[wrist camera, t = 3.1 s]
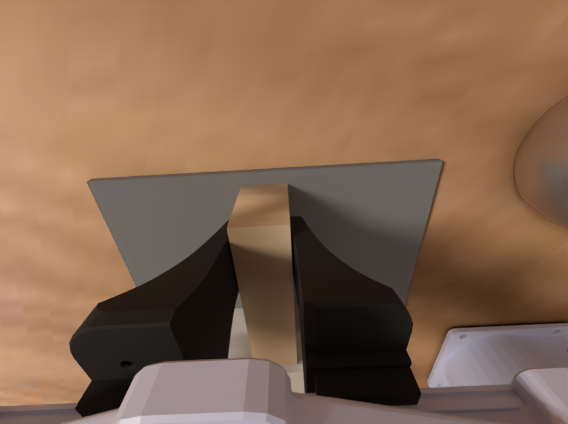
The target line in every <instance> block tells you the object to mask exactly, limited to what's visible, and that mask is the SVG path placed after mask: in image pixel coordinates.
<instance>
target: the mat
mask: <svg viewBox="0 0 568 424" xmlns="http://www.w3.org/2000/svg"><path fill="white" fill-rule="evenodd" d="M442 163H443V161H441V160H440V159H428V160H411V161H393V162H376V163H359V164H341V165H324V166H307V167H289V168H272V169H255V170H237V171H220V172H203V173H185V174H168V175H150V176H133V177H116V178H98V179H91V180H89V181H87V184H88V186H89V188H90V190H91V192H92V194H93V196H94V198H95V201H96V203H97V205H98V207H99V209H100V211H101V213H102V215H103V217H104V220H105V222H106V224H107V226H108V228H109V230H110V232H111V234H112V236H113V238H114V241H115V243H116V245H117V247H118V249H119V251H120V253H121V255H122V257H123V259H124V262H125V264H126V266H127V268H128V270H129V272H130V274H131V276H132V278H133V281H134V283H135V285H136V287H138V286H140V285H142V284H144V283H146V282H148V281H150V280H152V279H154V278H155V277H157V276H159V275H161V274H162V273H164V272H166V271H167V270H169V269H171V268H172V267H174V266H175V265H177V264H178V263H180V262H181V261H183V260H184V259H186V258H187V257H188V256H190V255H191V254H192V253H193V252H195V251H196V250H197V249H198V248H199V247H200V246H202V245H203V244H204V243H205V242H206V241H207V240H208V239H209V238H211V237H212V236H213V235H214V234H215V233H216V232H217V231H218V230H219V229H220V228H221V227H222V226H223V225H224V224H225V223H226V222H227V221H228V220H230V217H231V214H232V211H233V208H234V205H235V202H236V199H237V197H238V194H239V191H240V188H241V186H250V185H267V184H285V183H287V184H288V199H289V215H290V217H294V216H302V217H303V219H304V220H305V222H306V224H307V225H308V227H309V228H310V230H311V231H312V232H313V233H314V235H315V236H316V237H317V238H318V239H319V241H320V242H321V243H322V244H323V245H324V246H325V247H326V248H327V249H328V250H329V251H330V252H331V253H332V254H334V255H335V256H336V257H337V258H338V259H340V260H341V261H342V262H344V263H345V264H347V265H348V266H350V267H351V268H353V269H354V270H356V271H358V272H360V273H361V274H363V275H365V276H367V277H369V278H371V279H373V280H375V281H377V282H379V283H382V284H384V285H386V286H388V287H391V288H393V289H394V291H395V292H396V294H397V295H398V296H399V298H400V299H401V301H402V302H403V304H404V305H405V303H406V299H407V296H408V292H409V288H410V284H411V280H412V277H413V273H414V269H415V265H416V262H417V258H418V254H419V250H420V246H421V243H422V239H423V235H424V231H425V228H426V224H427V220H428V216H429V212H430V209H431V205H432V201H433V197H434V193H435V190H436V186H437V182H438V178H439V175H440V171H441V167H442ZM293 290H294V306H297V305H298V302H297V296H296V290H295V284H294V278H293ZM236 308H243V307H242V302H241V297H240V292H239V293H238V297H237V301H236V305H235V309H236Z"/></svg>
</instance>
